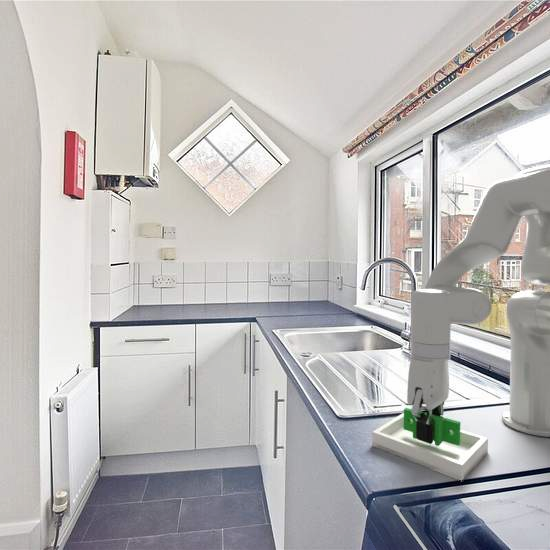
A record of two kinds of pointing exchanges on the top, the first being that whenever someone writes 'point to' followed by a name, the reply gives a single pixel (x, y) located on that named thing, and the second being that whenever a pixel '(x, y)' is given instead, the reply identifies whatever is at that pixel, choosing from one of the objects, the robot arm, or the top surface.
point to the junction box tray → (432, 449)
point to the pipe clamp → (435, 428)
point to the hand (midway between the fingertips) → (429, 436)
